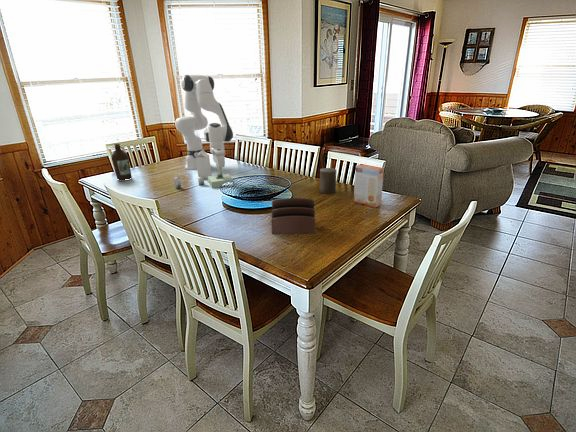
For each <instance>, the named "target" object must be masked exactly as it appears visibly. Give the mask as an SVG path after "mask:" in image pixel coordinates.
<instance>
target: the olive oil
mask: <svg viewBox="0 0 576 432" xmlns="http://www.w3.org/2000/svg"><path fill="white" fill-rule="evenodd" d="M111 162H112V166H113V169H114V172H115V176H116V179H119V180H125V179H130V178H132V179H133V175H132V170H131V163H130V158H129V155H128V153H127V152H126V151H124V150H122V147H121V145H120V142H119V143H114V152H112V154H111Z"/></svg>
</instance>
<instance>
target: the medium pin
mask: <svg viewBox="0 0 576 432" xmlns="http://www.w3.org/2000/svg"><path fill="white" fill-rule="evenodd" d="M173 180H174V181H173V182H174V188H175V189H176V190H178V189H182V184H181V177H180V176H174V177H173Z"/></svg>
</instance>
